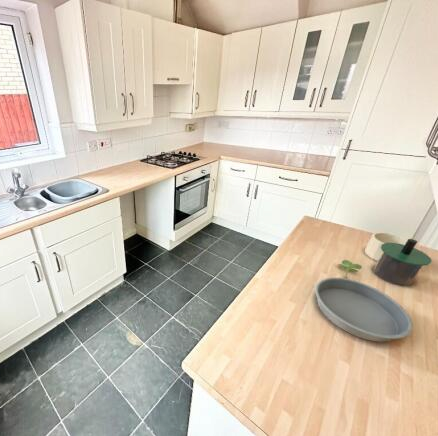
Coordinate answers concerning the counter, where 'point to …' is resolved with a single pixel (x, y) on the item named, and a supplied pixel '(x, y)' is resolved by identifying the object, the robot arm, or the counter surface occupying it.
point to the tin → (378, 239)
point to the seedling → (350, 266)
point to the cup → (395, 270)
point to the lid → (406, 253)
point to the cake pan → (362, 310)
